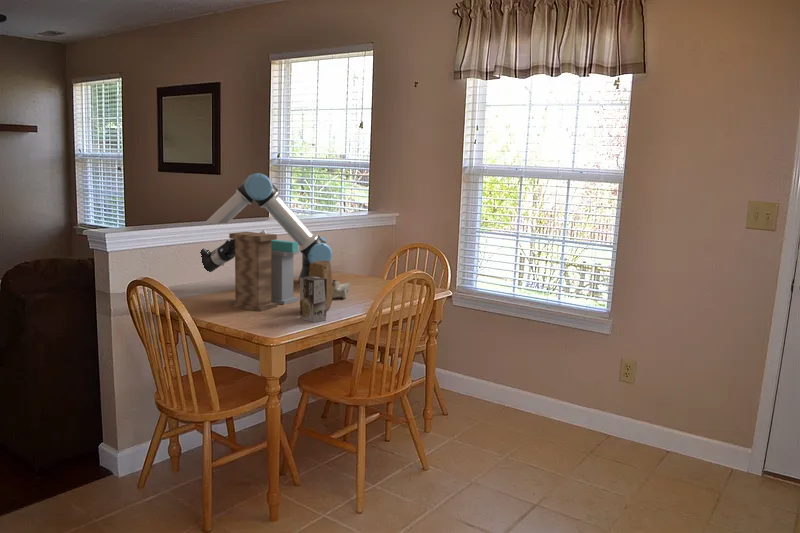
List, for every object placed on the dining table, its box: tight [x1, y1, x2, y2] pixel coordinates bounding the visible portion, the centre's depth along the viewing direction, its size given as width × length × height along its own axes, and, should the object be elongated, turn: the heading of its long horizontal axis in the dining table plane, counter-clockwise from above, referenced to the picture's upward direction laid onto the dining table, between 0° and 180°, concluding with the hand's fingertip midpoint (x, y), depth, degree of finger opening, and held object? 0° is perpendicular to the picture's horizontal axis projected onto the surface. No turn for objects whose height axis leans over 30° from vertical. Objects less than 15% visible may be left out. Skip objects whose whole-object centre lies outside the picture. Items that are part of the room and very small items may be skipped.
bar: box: [271, 239, 299, 252], centre depth 266 cm, size 28×4×4 cm, turn 63°
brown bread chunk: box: [309, 260, 333, 312], centre depth 251 cm, size 11×8×20 cm
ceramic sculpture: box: [332, 279, 351, 300], centre depth 275 cm, size 11×9×15 cm
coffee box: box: [299, 276, 327, 323], centre depth 235 cm, size 9×6×16 cm
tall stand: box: [228, 231, 278, 312], centre depth 252 cm, size 16×10×30 cm, turn 63°
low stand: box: [271, 249, 300, 305], centre depth 266 cm, size 16×10×22 cm, turn 63°
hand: (255, 233), depth 268 cm, fingers open, 13 cm apart
